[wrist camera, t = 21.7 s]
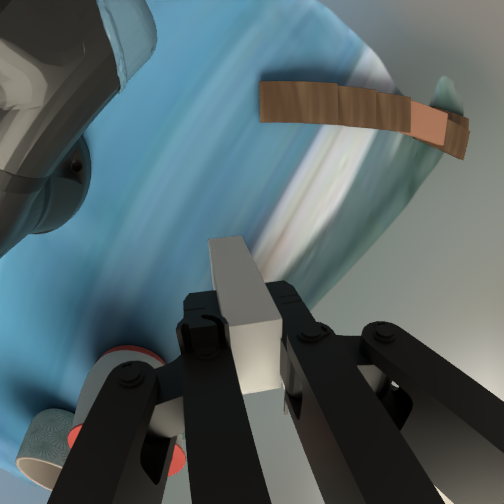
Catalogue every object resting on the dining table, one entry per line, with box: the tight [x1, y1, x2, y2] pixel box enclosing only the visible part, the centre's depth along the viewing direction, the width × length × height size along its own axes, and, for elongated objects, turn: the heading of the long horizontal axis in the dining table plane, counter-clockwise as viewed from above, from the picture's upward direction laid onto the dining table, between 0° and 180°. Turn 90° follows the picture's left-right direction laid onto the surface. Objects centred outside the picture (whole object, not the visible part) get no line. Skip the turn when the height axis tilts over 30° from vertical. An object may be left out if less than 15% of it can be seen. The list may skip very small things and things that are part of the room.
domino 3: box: [349, 92, 411, 133], centre depth 35 cm, size 2×5×9 cm
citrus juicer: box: [68, 345, 186, 476], centre depth 36 cm, size 16×17×20 cm
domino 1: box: [259, 81, 338, 124], centre depth 33 cm, size 2×5×9 cm
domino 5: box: [432, 107, 469, 130], centre depth 39 cm, size 2×5×9 cm
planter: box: [15, 408, 75, 491], centre depth 41 cm, size 17×17×15 cm
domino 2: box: [310, 86, 376, 128], centre depth 34 cm, size 2×5×9 cm
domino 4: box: [396, 100, 448, 146], centre depth 36 cm, size 2×5×9 cm
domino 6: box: [413, 119, 470, 160], centre depth 37 cm, size 2×5×9 cm
